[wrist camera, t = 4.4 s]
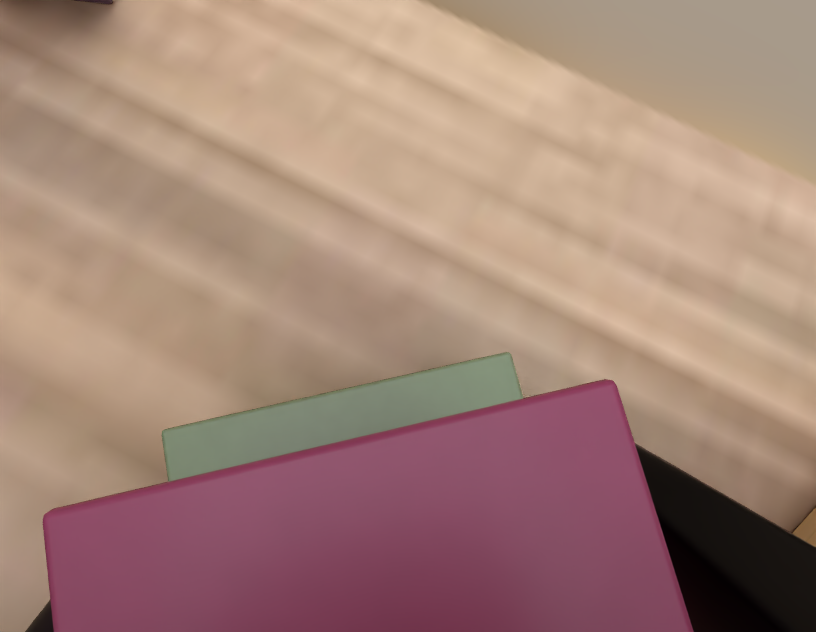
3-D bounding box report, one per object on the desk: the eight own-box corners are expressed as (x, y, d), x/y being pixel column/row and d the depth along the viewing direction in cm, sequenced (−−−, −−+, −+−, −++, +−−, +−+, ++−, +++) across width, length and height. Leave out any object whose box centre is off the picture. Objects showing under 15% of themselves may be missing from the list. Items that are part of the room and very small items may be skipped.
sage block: (555, 668, 16) (616, 728, 12) (259, 752, 15) (220, 845, 11) (479, 380, 17) (511, 350, 13) (209, 443, 16) (159, 429, 13)
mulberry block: (544, 652, 12) (771, 866, 5) (258, 732, 11) (95, 1090, 5) (487, 433, 13) (617, 375, 6) (220, 498, 12) (37, 512, 6)
